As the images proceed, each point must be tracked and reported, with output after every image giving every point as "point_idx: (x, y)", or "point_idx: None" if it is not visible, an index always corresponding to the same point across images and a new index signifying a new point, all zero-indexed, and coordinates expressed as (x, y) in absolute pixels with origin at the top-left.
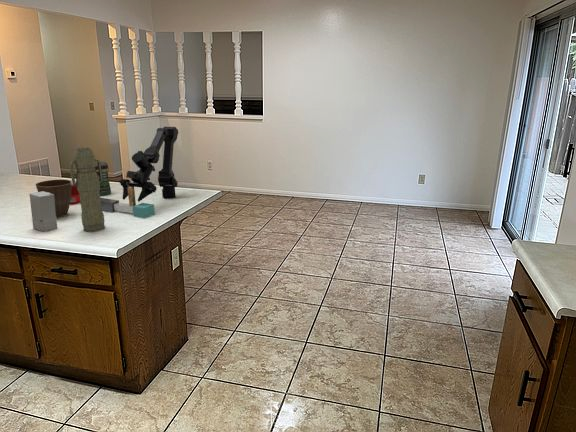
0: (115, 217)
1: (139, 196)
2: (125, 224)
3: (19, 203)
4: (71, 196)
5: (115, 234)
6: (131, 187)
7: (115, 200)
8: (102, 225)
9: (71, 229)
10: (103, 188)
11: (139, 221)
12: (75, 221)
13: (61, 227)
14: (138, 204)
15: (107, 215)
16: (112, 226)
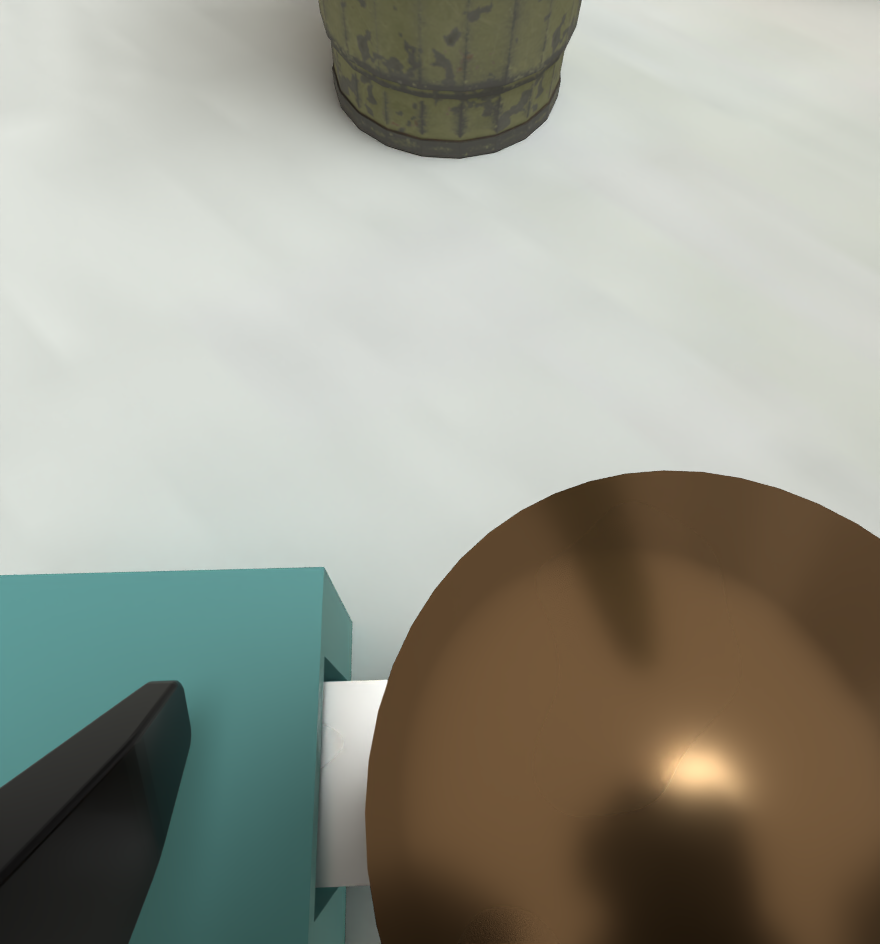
0: (590, 452)
1: (59, 782)
2: (197, 285)
3: None
4: None
5: (87, 44)
6: (441, 613)
7: None
8: (334, 49)
9: (633, 2)
10: None
11: (72, 456)
12: (874, 150)
13: (778, 5)
14: (295, 806)
15: (799, 476)
16: (306, 181)
